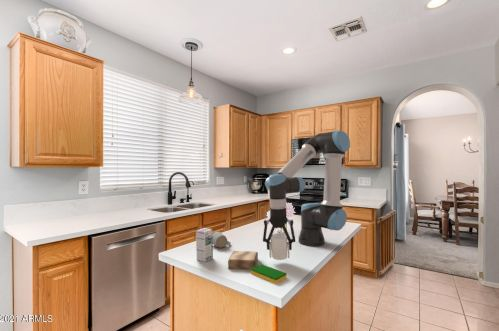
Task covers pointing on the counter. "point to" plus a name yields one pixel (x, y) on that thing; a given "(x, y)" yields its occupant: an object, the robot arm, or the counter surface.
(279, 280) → the dish sponge
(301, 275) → the counter surface
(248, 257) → the walnut plinth
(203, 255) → the syrup box
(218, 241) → the ceramic mug
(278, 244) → the white cup
